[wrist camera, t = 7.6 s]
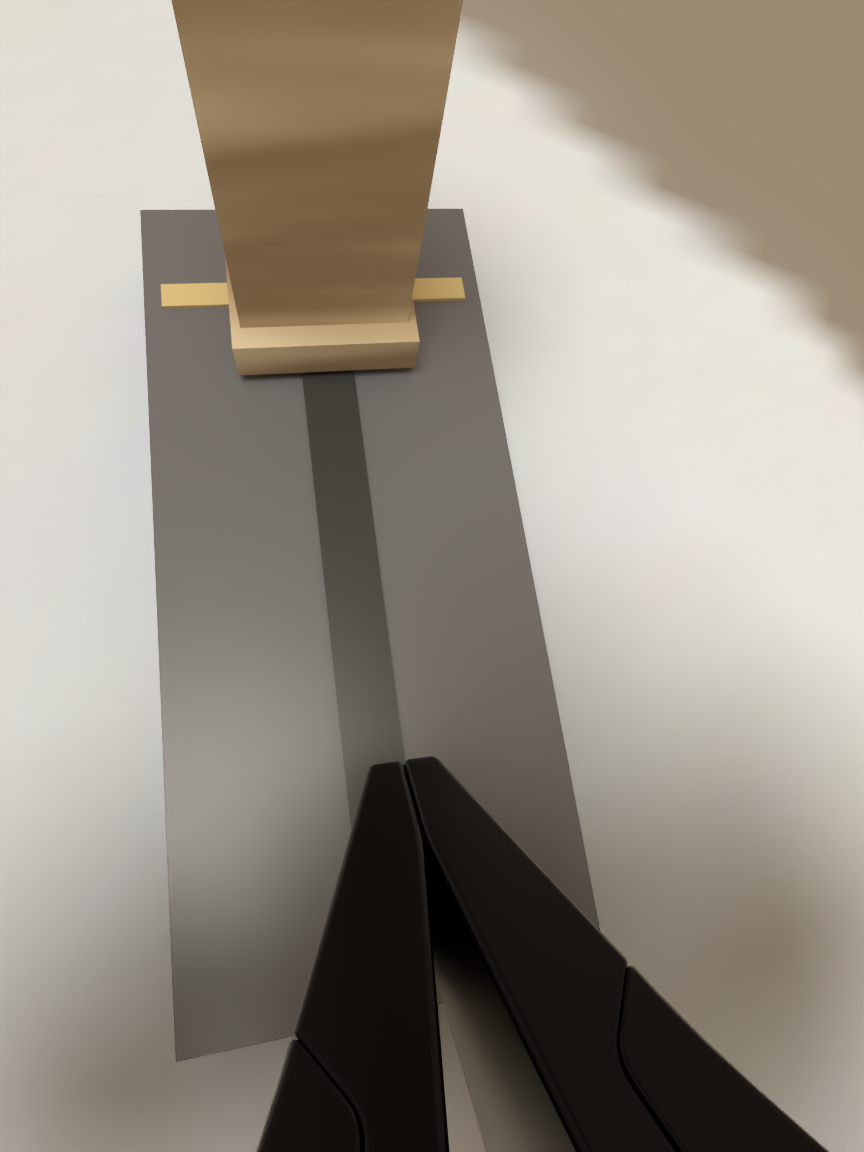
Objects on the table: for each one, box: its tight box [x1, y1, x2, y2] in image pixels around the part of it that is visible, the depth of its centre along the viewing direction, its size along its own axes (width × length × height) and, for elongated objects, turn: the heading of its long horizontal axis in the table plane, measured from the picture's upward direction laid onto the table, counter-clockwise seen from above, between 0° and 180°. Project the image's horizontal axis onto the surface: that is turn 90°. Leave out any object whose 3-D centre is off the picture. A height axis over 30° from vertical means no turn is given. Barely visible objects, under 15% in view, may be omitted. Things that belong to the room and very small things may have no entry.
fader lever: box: [172, 0, 463, 376], centre depth 10 cm, size 3×5×12 cm, turn 98°
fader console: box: [141, 209, 600, 1062], centre depth 15 cm, size 18×8×2 cm, turn 8°
